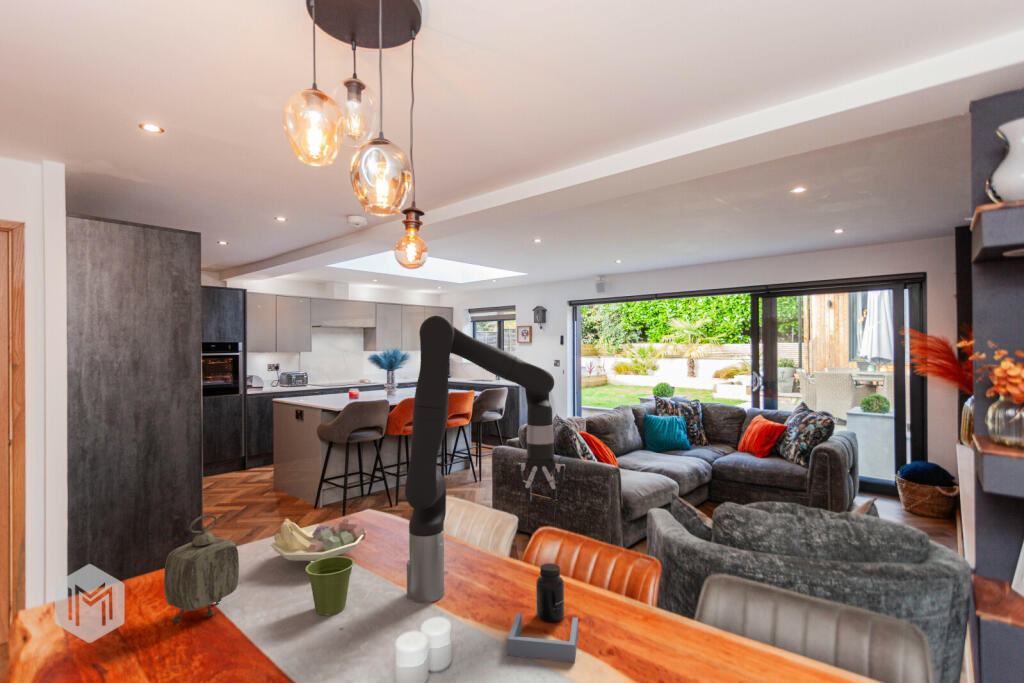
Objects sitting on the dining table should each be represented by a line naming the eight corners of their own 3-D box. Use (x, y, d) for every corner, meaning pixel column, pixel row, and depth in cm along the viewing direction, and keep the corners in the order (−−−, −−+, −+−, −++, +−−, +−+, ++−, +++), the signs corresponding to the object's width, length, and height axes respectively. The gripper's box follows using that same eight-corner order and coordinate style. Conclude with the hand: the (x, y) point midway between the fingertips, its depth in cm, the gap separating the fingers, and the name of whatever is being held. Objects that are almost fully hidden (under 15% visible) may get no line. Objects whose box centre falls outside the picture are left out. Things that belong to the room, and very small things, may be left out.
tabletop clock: (220, 598, 137) (220, 505, 138) (243, 605, 133) (242, 509, 134) (164, 625, 124) (163, 522, 125) (186, 633, 120) (186, 527, 121)
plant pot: (364, 602, 134) (364, 559, 134) (331, 625, 123) (330, 578, 123) (330, 594, 139) (330, 552, 139) (295, 615, 128) (294, 570, 128)
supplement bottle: (562, 624, 122) (562, 574, 122) (534, 622, 123) (533, 571, 123) (565, 610, 128) (564, 562, 129) (538, 607, 130) (538, 560, 130)
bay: (507, 655, 110) (507, 638, 110) (517, 627, 121) (516, 612, 121) (574, 662, 107) (574, 645, 107) (578, 632, 118) (578, 617, 118)
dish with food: (252, 562, 159) (254, 517, 159) (330, 536, 182) (331, 496, 182) (305, 590, 143) (307, 540, 143) (383, 557, 166) (385, 514, 166)
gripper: (512, 442, 140) (513, 504, 140) (564, 443, 137) (565, 506, 137) (517, 437, 147) (518, 496, 147) (567, 438, 145) (568, 498, 144)
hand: (541, 501), depth 142 cm, fingers open, 5 cm apart
